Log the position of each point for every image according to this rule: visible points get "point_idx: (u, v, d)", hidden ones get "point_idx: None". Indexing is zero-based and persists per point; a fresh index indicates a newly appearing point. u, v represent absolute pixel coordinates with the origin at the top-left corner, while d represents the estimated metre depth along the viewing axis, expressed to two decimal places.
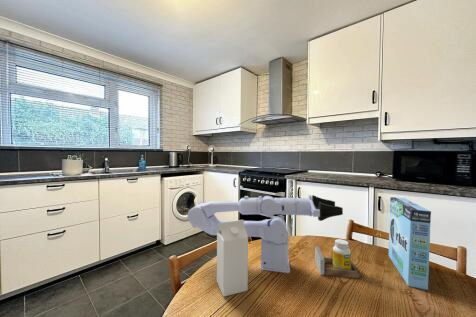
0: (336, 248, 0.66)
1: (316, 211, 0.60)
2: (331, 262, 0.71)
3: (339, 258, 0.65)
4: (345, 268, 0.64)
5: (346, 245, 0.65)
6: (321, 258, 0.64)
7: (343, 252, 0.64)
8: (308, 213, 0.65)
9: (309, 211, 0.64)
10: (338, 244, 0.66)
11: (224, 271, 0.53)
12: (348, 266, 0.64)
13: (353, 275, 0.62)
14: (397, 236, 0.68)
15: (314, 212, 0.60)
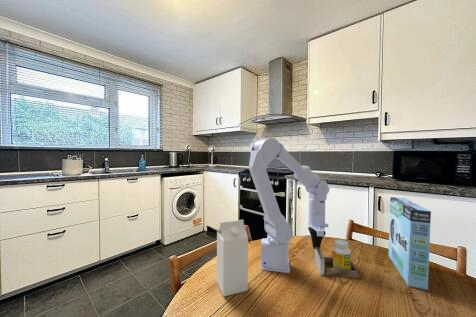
0: (336, 248, 0.66)
1: (322, 233, 0.67)
2: (331, 262, 0.71)
3: (339, 258, 0.65)
4: (345, 268, 0.64)
5: (346, 245, 0.65)
6: (321, 258, 0.64)
7: (343, 252, 0.64)
8: (313, 223, 0.72)
9: (315, 225, 0.71)
10: (338, 244, 0.66)
11: (224, 271, 0.53)
12: (348, 266, 0.64)
13: (353, 275, 0.62)
14: (397, 236, 0.68)
15: (321, 231, 0.67)
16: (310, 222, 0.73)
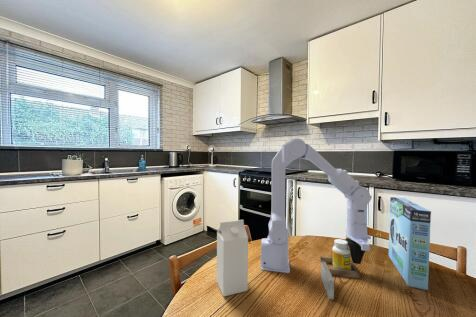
0: (335, 248, 0.66)
1: (368, 247, 0.59)
2: (331, 262, 0.71)
3: (339, 258, 0.65)
4: (345, 268, 0.64)
5: (345, 245, 0.65)
6: (330, 279, 0.53)
7: (342, 251, 0.64)
8: (354, 235, 0.64)
9: (357, 237, 0.63)
10: (338, 244, 0.66)
11: (224, 271, 0.53)
12: (348, 266, 0.64)
13: (353, 275, 0.62)
14: (397, 236, 0.68)
15: (367, 245, 0.59)
16: (350, 233, 0.65)
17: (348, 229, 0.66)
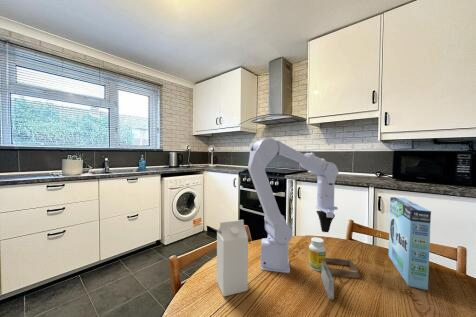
0: (312, 246, 0.68)
1: (332, 214, 0.66)
2: (331, 262, 0.71)
3: (314, 256, 0.66)
4: (320, 265, 0.66)
5: (321, 243, 0.66)
6: (330, 279, 0.53)
7: (318, 249, 0.66)
8: (322, 206, 0.71)
9: (324, 207, 0.71)
10: (314, 242, 0.67)
11: (224, 271, 0.53)
12: None
13: (353, 275, 0.62)
14: (397, 236, 0.68)
15: (331, 213, 0.66)
16: (319, 205, 0.72)
17: (318, 201, 0.73)
